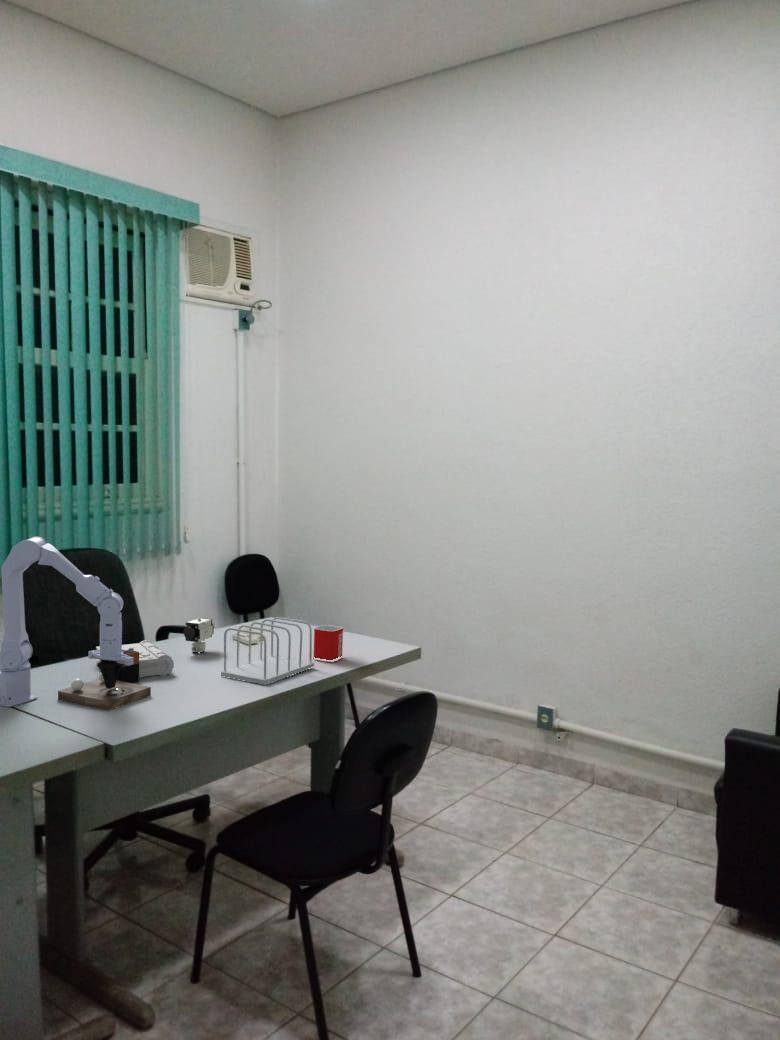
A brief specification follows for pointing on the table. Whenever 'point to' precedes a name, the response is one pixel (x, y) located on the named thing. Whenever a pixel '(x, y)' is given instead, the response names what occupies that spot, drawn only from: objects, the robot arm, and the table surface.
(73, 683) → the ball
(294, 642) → the table surface
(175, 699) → the table surface
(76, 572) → the robot arm
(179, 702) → the table surface
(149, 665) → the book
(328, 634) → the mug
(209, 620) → the pneumatic valve
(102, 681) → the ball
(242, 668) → the file sorter
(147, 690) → the hole plate
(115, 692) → the steel ball
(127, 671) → the battery
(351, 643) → the table surface
